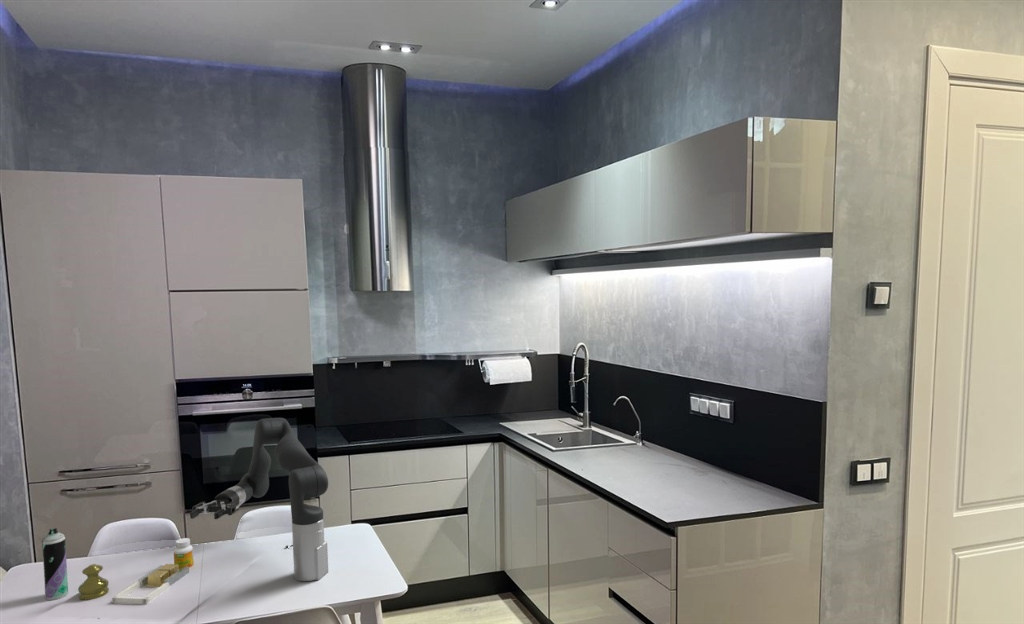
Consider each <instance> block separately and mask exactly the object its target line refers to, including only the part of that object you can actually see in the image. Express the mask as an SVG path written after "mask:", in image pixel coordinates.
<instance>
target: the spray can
mask: <svg viewBox="0 0 1024 624" xmlns="http://www.w3.org/2000/svg"><path fill="white" fill-rule="evenodd" d="M41 545H42V547H41V548H42V559H43V560H42V562H43V564H42V565H43V580H44V594H45V601H55V600H58V599H59V600H60V599H62V598H65V597H67V596H68V595H69V585H68V584H69V583H68V566H67V565H68V564H67V549H66V548H67V547H66V537H65V534H64V533H61V532H60V531H58V529H57V528H56V527H55V528H49V531H48V533H47V534H46V536H44V537H43V538H42V541H41Z"/></svg>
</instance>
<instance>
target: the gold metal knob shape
mask: <svg viewBox="0 0 1024 624" xmlns="http://www.w3.org/2000/svg"><path fill="white" fill-rule="evenodd" d="M103 569H104V566H103V565H101V564H95V563H93V564H89V565H88V566H86V567H85V568H84V569H83V570H82V574H83V575H85V576H86V579H85V580H84V581H83V582H82V583H81V584H80V585H79V586H78V588H77V589H78V590H77V591H78V593H79V594H78V599H79V600H80V601H92V600H95V599H99V598H101V597H104V596H105V595H107V594H108V593H109V590H110V588H109V587H108V586H109V580H108V579H107V578H103V577H102V576H100V574H99V573H100V572H101V571H103Z"/></svg>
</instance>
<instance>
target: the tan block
mask: <svg viewBox="0 0 1024 624" xmlns="http://www.w3.org/2000/svg"><path fill="white" fill-rule="evenodd" d="M167 578H169V571H167V570H156V571H155V572H153V573H152V574H150V575H149V576H148V586H162V585H163V584H164V580H166V579H167Z"/></svg>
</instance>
